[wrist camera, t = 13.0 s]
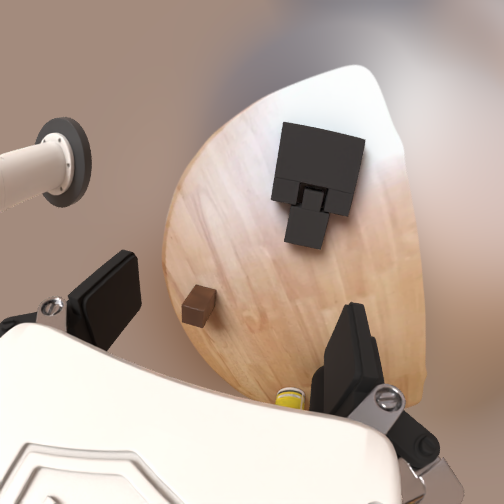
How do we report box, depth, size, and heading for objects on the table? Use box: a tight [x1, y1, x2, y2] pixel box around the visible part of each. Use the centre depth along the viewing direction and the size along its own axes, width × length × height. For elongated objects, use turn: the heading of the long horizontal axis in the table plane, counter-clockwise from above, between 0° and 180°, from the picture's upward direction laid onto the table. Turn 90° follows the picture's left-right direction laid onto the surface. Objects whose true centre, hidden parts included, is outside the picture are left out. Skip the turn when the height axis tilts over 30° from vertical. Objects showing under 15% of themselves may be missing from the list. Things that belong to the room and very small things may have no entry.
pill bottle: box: [275, 387, 305, 410], centre depth 49 cm, size 6×6×11 cm
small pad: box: [284, 186, 329, 250], centre depth 35 cm, size 7×5×2 cm
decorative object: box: [309, 366, 324, 413], centre depth 41 cm, size 7×7×15 cm
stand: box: [182, 285, 216, 328], centre depth 43 cm, size 4×4×6 cm
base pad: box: [271, 122, 365, 217], centre depth 32 cm, size 10×10×2 cm
